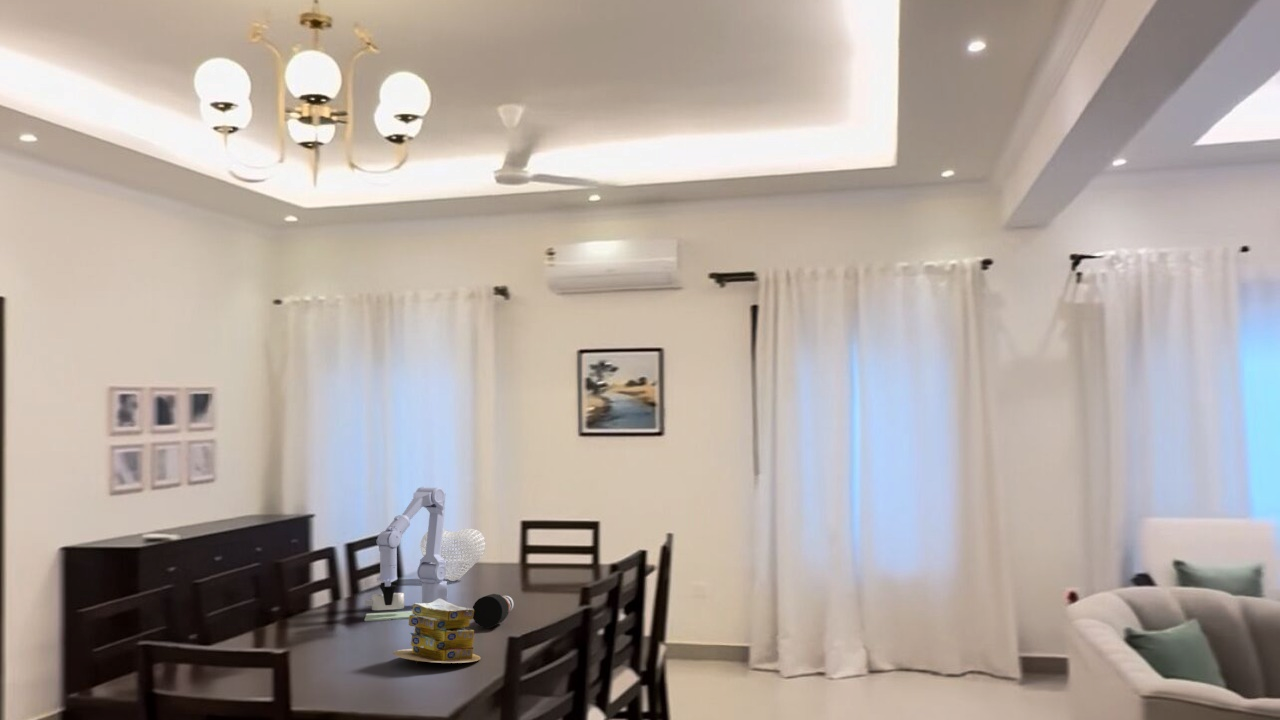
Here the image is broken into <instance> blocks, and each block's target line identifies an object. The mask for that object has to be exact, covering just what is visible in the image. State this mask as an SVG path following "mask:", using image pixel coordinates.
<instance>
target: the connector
mask: <svg viewBox="0 0 1280 720" xmlns="http://www.w3.org/2000/svg"><path fill="white" fill-rule="evenodd" d="M369 606H370V607H371V610H372V611H387V610H401V609H404V608H405V593H403V592H394V594H393V600H392V605H385V602H384V596H383V593H375V594H372V595H371V599H364V607H369Z"/></svg>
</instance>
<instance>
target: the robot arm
mask: <svg viewBox="0 0 1280 720" xmlns="http://www.w3.org/2000/svg"><path fill="white" fill-rule="evenodd" d="M445 503H446V493H445V491H444V490H443V488H442V487H424V486H420V487H418V488H416V491H415V492H414V493H413V499H411V501H410V503H409V504H408V505H407V507H405V510H404V511H403V513H402V514H399V515H396V516H394V518H393V520H392V522H391V523H390V524H389V525H388V526H387V527H386V529H385V530H383V531H380V533H378V535H377V539H376V545H377V547H378V551H379V553H380V554H379V555H380V556H379V565H380V566H379V568H380V569H379V572H380V573H379V574H380V575H379V576H380V577H377V578H376V581H380V582H381V583H380V585H379V588H380V590H381V592H382V594H383V596H384V602H385V605H392V600H393V594H394V593H395V590H396V588H397V584H398V581H397V580H398V555H397V554H398V550H397V548H398V547H399V545H400V544H401V540H402V537H403V534H405V532H406V531H407V530H408V528H409V527H410V526H411V522H410V521H411V519H413V517H414V516H415V515H416V514H417V513H419V512H420V510H421V509H422V508H424V509H426V510H427V511H428V513H429V518H428V529H427V532H428V536H427V541H426V542H427V546H426V545H425V548H426V550H425V551H426V555H425V556H423V557H422V558H421V559H420V560H419V566H418V567H417V572H416V574H417V577H418V578H419V580H420V582H421V600H422V601H421V603H430V602H433V601H435V600H437V599H443V600H445V601H446V602H449V595H448V581H447V580H445V579H446V577H445V576H446V572H447V571H446V567H447V566H446V567H445V561H446V559H445V560H444V559H443V557H441V556H440V555H441V554H440V553H441V550H442V549H441V547H442V545H441V543H442V542H443V541H442V539H443V538H442V533H443V529H444V522H445V512H446V506H445V505H446V504H445ZM443 534H444V533H443ZM430 563H435V564H430Z"/></svg>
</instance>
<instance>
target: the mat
mask: <svg viewBox="0 0 1280 720" xmlns="http://www.w3.org/2000/svg"><path fill="white" fill-rule="evenodd" d="M410 615H413V610H407V611H405V610H404V611H395V612H394V611H392V612H373V613H372V612H371V613H366V614H365V617H364V622H373V621H374V622H375V621H390V620H391V619H393V620H405V619H406V620H407V619H408V620H409V617H410ZM391 621H392V620H391Z"/></svg>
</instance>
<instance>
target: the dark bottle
mask: <svg viewBox="0 0 1280 720" xmlns="http://www.w3.org/2000/svg"><path fill="white" fill-rule="evenodd" d="M514 606H515V604H514V600H513V598H512V597H510V596H509V595H501V594H497V593H491V594H488V595H485V596H484V595H483V596H482V597H479V598H478V599H477V600H476V601H475V602H474V604H473V606H472V608H473V609H474V615H473V619H472V620H473V621H474V622H475V624H476V625H478V626H479V627H482V628H484V629H487V628H488V629H489V628H493V627H495V626H497V625H499V624H500V623H503V621H504V620H506V619H507V616H508V615H509V613H510V612H511V611H513V608H514Z"/></svg>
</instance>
